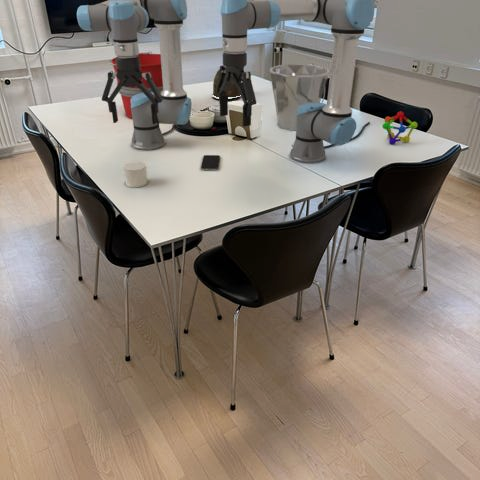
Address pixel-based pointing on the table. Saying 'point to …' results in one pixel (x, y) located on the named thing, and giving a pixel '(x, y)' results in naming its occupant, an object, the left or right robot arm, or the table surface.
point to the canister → (135, 174)
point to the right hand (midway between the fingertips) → (234, 120)
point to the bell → (231, 91)
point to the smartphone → (210, 162)
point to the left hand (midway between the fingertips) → (135, 122)
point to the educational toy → (398, 128)
